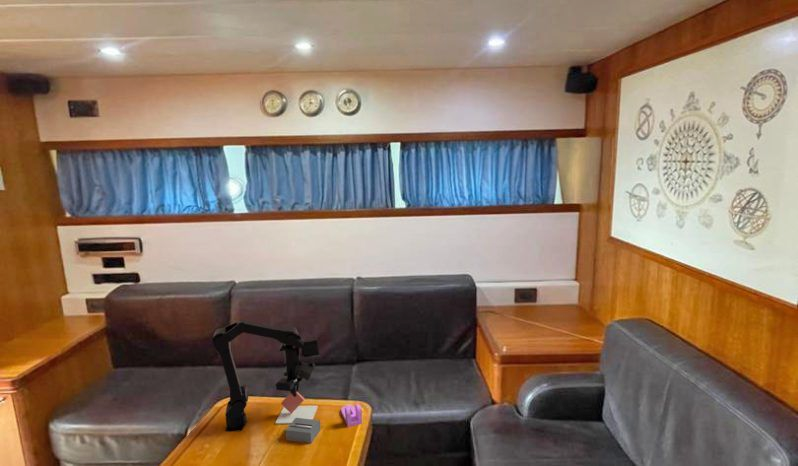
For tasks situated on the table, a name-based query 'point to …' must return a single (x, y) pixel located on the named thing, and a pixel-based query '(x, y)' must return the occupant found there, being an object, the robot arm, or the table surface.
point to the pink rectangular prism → (292, 402)
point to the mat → (296, 414)
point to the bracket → (356, 414)
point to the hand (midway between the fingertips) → (295, 395)
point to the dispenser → (303, 430)
